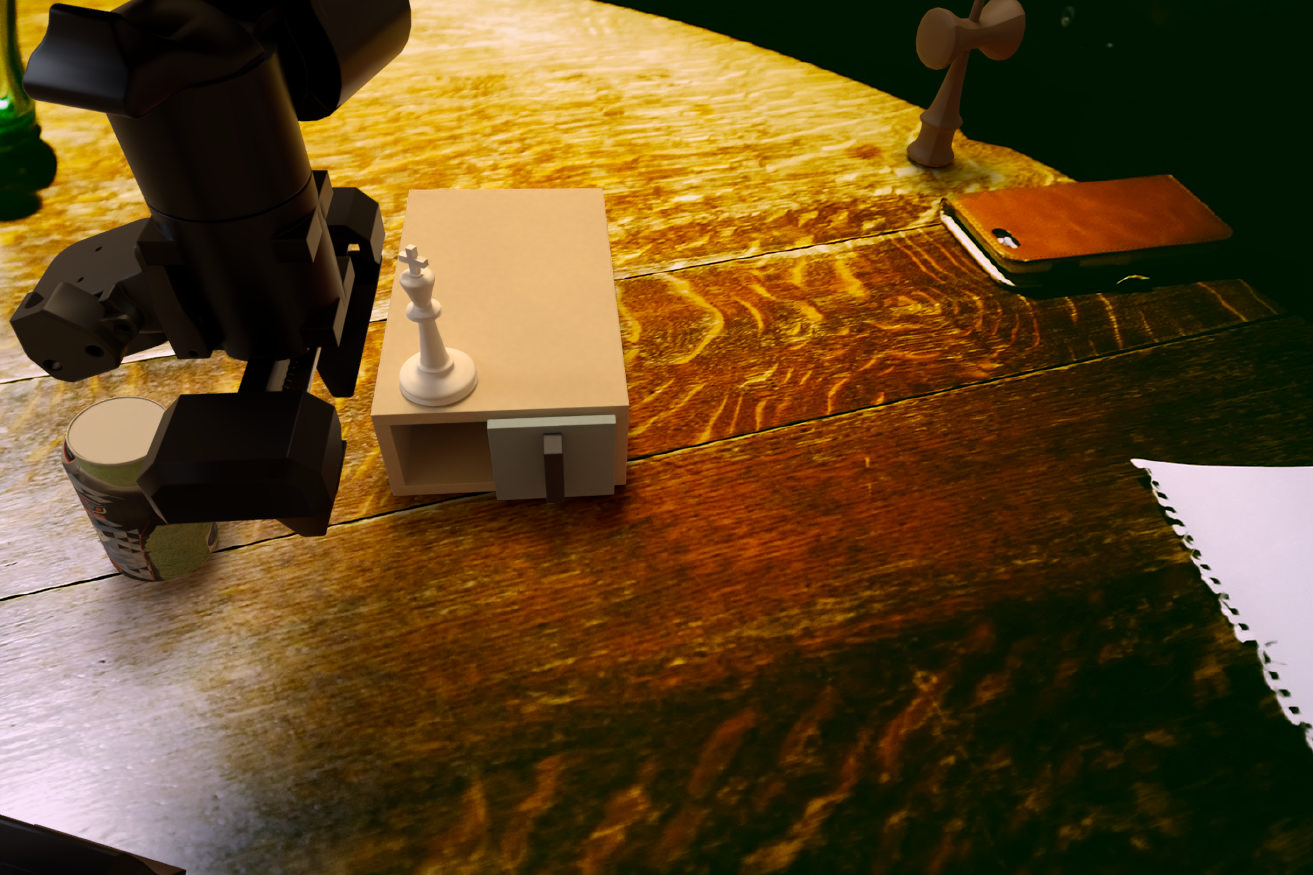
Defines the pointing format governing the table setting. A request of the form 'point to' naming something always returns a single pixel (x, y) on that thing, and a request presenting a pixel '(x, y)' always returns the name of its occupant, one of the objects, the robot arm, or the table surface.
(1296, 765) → the table surface
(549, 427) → the closet door
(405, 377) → the chess piece
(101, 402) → the beverage can
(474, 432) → the box
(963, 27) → the kendama
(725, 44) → the table surface
